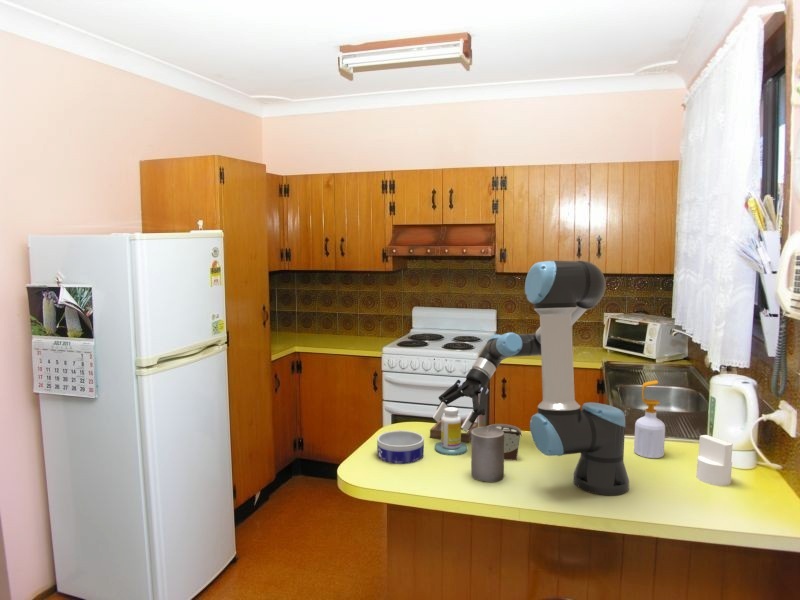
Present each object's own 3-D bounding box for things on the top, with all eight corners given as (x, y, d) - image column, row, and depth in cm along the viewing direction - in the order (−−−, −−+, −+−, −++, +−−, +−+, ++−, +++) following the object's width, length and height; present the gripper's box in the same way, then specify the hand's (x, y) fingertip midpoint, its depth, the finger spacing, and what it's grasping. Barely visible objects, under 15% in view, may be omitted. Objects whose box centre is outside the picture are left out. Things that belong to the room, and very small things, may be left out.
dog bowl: (367, 454, 189) (367, 437, 189) (402, 443, 200) (402, 427, 199) (398, 468, 178) (398, 449, 177) (433, 456, 188) (433, 438, 188)
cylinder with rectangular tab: (689, 475, 173) (691, 437, 172) (710, 471, 177) (712, 433, 175) (716, 487, 165) (718, 447, 163) (737, 482, 168) (740, 442, 167)
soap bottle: (664, 460, 185) (669, 385, 182) (634, 456, 188) (637, 383, 185) (662, 450, 193) (666, 379, 191) (633, 447, 196) (636, 376, 194)
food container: (519, 453, 190) (520, 424, 189) (521, 460, 184) (522, 430, 183) (481, 452, 192) (482, 422, 191) (482, 459, 186) (483, 428, 185)
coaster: (462, 457, 187) (462, 454, 187) (430, 452, 191) (430, 449, 191) (470, 445, 197) (470, 443, 197) (440, 441, 201) (440, 439, 201)
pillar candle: (495, 467, 179) (495, 420, 177) (509, 480, 169) (509, 430, 168) (465, 471, 176) (466, 423, 174) (478, 484, 167) (478, 434, 165)
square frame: (468, 442, 200) (468, 434, 200) (430, 437, 205) (430, 429, 205) (477, 430, 213) (477, 422, 213) (441, 425, 218) (441, 418, 218)
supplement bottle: (464, 446, 194) (465, 408, 193) (452, 451, 189) (453, 413, 188) (449, 441, 199) (449, 405, 197) (436, 446, 194) (437, 409, 193)
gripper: (513, 387, 193) (482, 440, 185) (460, 373, 212) (429, 421, 204) (503, 373, 189) (471, 427, 181) (449, 361, 208) (418, 409, 200)
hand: (449, 424), depth 193 cm, fingers open, 13 cm apart
